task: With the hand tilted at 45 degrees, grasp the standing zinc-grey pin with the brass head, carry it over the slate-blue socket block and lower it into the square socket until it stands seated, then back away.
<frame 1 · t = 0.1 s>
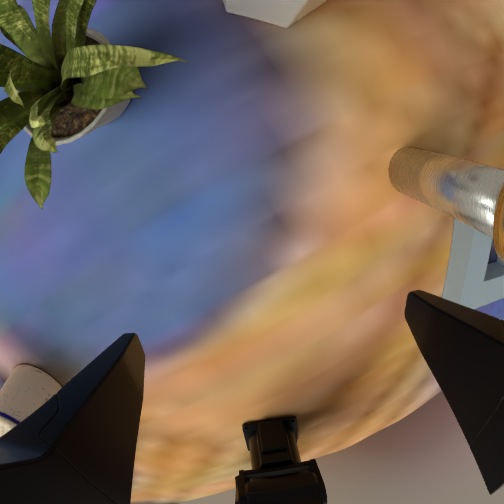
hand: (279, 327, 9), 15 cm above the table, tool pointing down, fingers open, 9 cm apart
socket block: (486, 242, 26), on the table
house plant: (117, 85, 18), on the table
teacup with lid: (50, 394, 29), on the table
pin: (408, 170, 23), on the table
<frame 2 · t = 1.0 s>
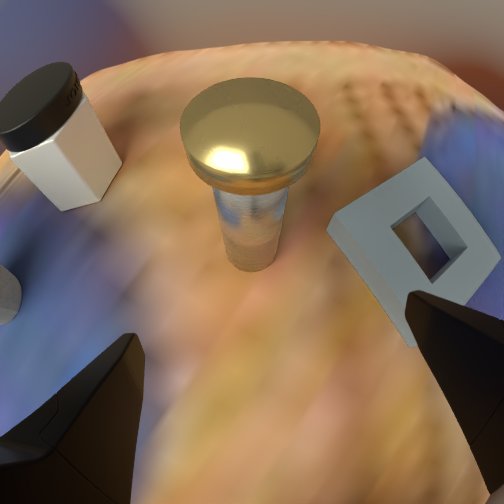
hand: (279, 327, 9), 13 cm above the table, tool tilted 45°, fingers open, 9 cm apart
socket block: (415, 250, 24), on the table
house plant: (13, 290, 23), on the table
jar: (85, 176, 28), on the table
pin: (251, 247, 25), on the table
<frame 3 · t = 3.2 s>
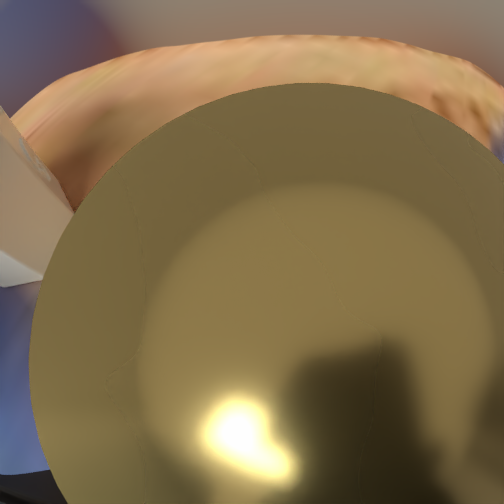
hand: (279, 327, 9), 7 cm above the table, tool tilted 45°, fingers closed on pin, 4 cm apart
jar: (31, 234, 18), on the table
pin: (273, 370, 15), on the table, touching gripper
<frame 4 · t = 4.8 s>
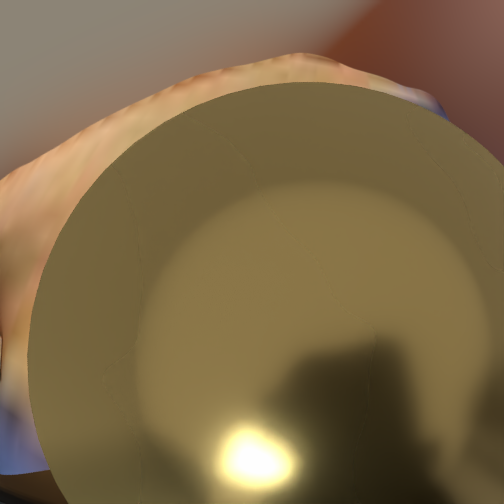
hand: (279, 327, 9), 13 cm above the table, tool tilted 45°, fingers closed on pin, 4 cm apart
pin: (272, 369, 15), point 7 cm above the table, touching gripper
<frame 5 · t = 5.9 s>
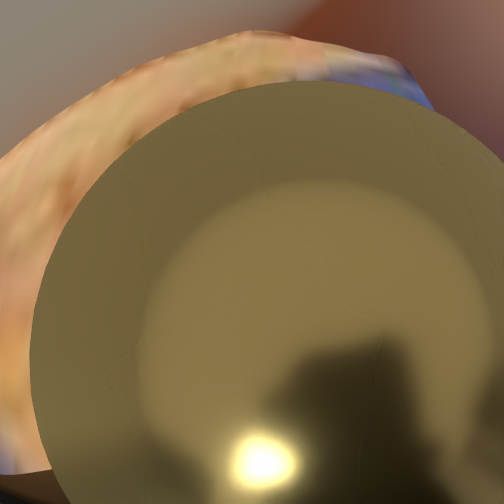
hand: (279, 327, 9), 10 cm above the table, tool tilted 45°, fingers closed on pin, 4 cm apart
pin: (272, 369, 15), point 3 cm above the table, touching gripper
when the fingers open (8 cm above the table, at t = 6.7 s): pin drops 1 cm, resting in socket block.
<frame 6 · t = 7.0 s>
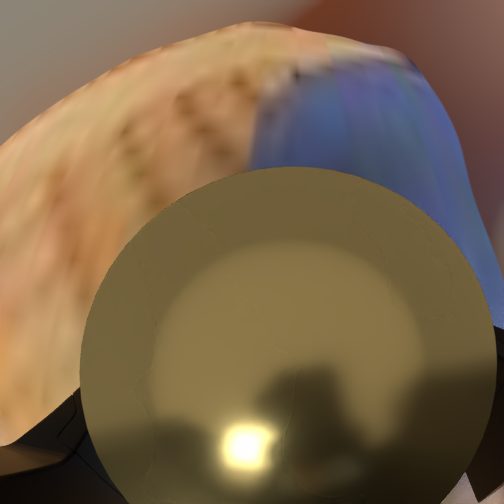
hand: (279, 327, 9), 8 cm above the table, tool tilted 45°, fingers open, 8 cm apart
pin: (272, 375, 16), resting in socket block
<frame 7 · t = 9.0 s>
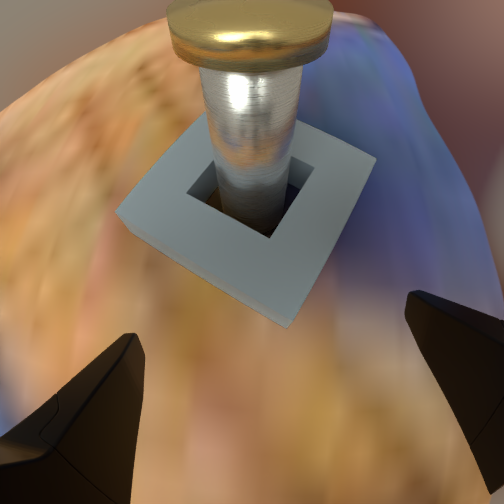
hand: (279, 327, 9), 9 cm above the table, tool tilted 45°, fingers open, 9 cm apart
socket block: (252, 204, 21), on the table
pin: (253, 207, 21), resting in socket block
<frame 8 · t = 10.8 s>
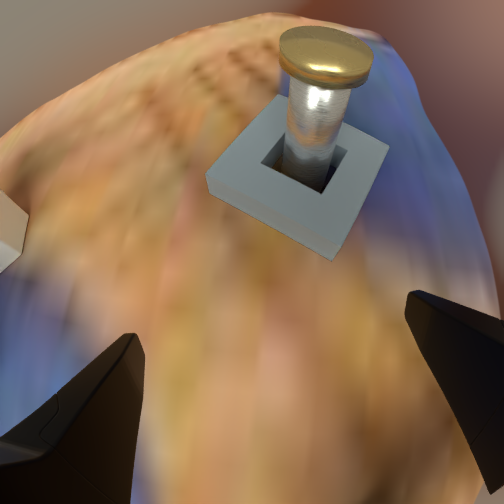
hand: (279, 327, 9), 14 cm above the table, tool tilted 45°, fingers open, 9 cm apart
socket block: (301, 176, 28), on the table
jar: (4, 240, 26), on the table
pin: (302, 178, 27), resting in socket block
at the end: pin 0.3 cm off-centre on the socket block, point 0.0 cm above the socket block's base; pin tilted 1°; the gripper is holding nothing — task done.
